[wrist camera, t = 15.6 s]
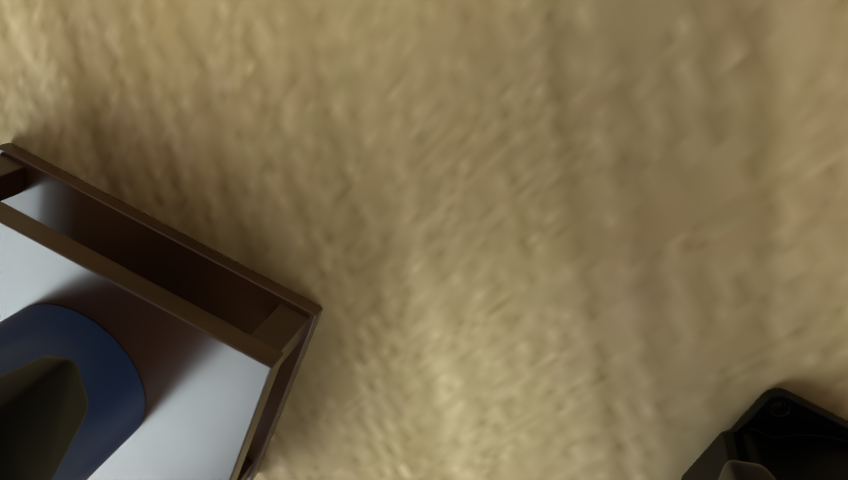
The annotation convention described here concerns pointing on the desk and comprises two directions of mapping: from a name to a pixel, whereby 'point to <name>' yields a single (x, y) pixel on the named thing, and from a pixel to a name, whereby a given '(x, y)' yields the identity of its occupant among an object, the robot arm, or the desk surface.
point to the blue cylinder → (100, 371)
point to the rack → (157, 320)
